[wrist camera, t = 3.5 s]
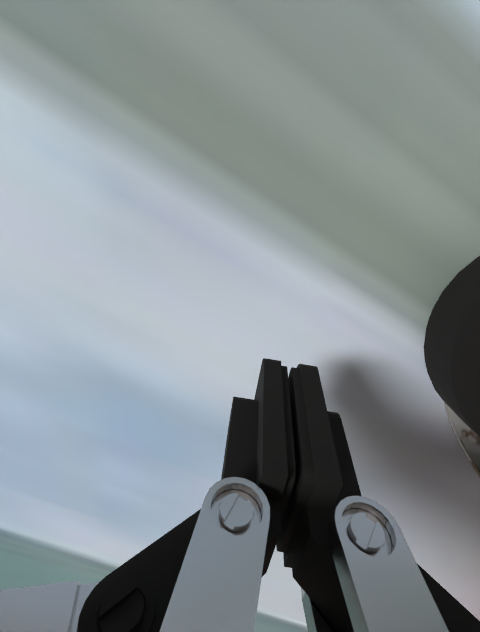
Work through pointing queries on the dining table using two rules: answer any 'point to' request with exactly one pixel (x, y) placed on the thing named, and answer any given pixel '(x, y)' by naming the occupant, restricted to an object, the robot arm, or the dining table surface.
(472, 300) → the caster wheel
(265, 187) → the dining table surface
